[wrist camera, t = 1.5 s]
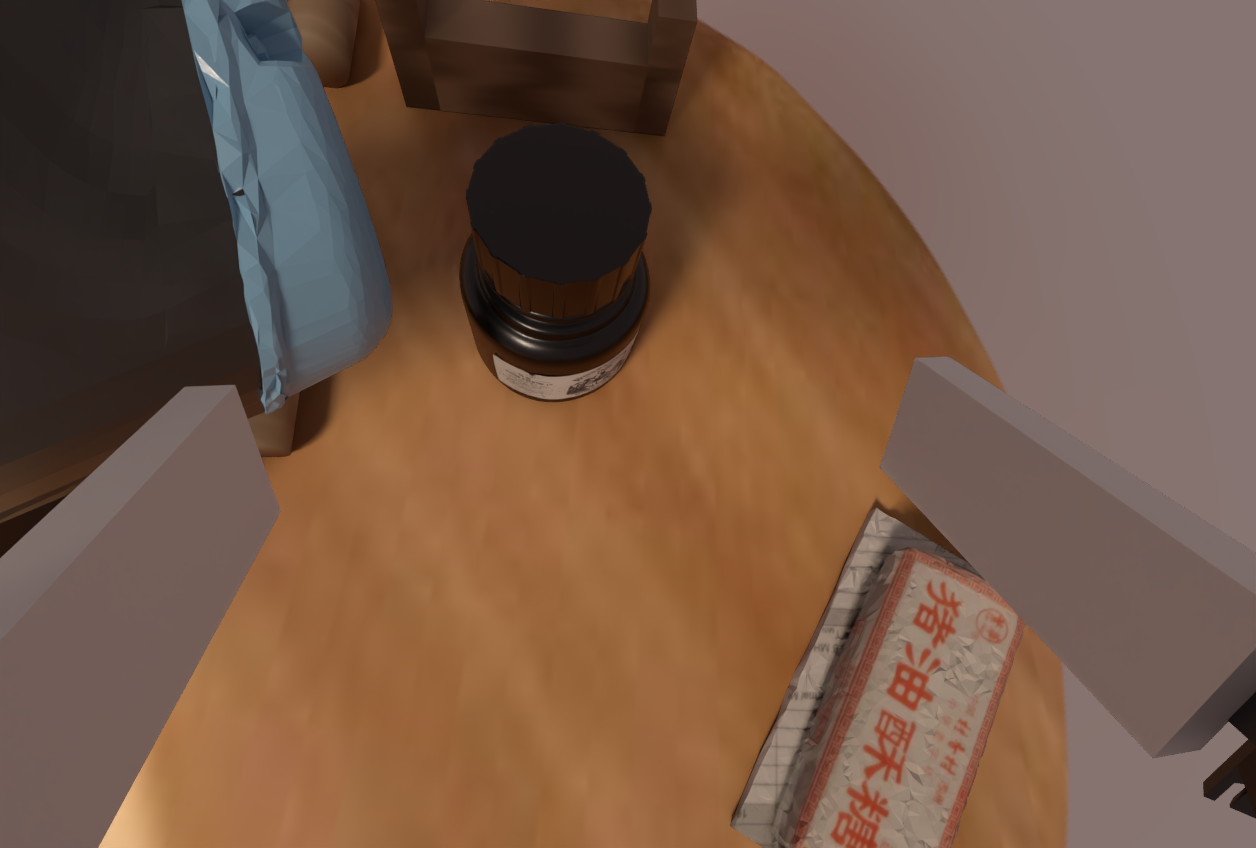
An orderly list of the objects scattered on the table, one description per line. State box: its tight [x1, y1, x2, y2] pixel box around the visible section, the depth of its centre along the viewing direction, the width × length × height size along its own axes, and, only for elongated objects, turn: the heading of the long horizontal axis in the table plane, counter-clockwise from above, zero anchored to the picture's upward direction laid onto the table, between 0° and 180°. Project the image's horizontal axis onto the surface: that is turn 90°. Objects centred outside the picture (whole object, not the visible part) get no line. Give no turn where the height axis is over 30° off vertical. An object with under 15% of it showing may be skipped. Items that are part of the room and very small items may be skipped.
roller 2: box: [287, 0, 361, 88], centre depth 33 cm, size 7×4×4 cm, turn 179°
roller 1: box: [248, 392, 300, 457], centre depth 28 cm, size 7×4×4 cm, turn 179°
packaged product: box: [730, 508, 1026, 848], centre depth 28 cm, size 18×5×10 cm
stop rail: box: [375, 0, 697, 136], centre depth 32 cm, size 16×3×8 cm, turn 89°
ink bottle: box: [459, 123, 652, 402], centre depth 27 cm, size 10×9×12 cm
